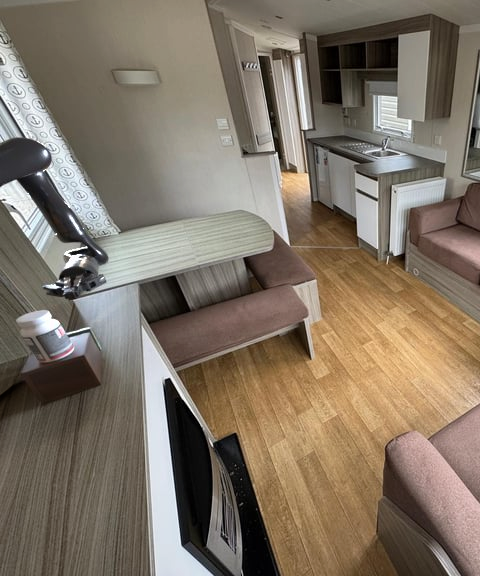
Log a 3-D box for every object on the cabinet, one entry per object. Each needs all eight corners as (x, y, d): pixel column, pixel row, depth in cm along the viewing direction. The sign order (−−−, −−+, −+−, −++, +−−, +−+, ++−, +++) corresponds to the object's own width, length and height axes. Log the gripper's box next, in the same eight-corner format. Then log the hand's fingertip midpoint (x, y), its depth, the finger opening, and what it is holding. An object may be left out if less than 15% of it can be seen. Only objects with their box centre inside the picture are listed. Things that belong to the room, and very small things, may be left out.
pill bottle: (79, 344, 69) (57, 306, 64) (69, 358, 64) (45, 318, 60) (45, 351, 66) (20, 312, 62) (32, 367, 62) (5, 326, 57)
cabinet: (52, 376, 72) (33, 347, 68) (104, 360, 77) (89, 332, 73) (42, 404, 64) (20, 373, 60) (101, 384, 69) (84, 354, 65)
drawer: (58, 358, 76) (45, 336, 73) (102, 346, 81) (90, 324, 78) (50, 383, 69) (34, 359, 66) (98, 367, 73) (85, 344, 70)
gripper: (41, 267, 84) (25, 290, 71) (103, 257, 90) (98, 275, 78) (55, 291, 87) (42, 317, 74) (114, 279, 94) (110, 301, 81)
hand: (71, 296), depth 76 cm, fingers closed
